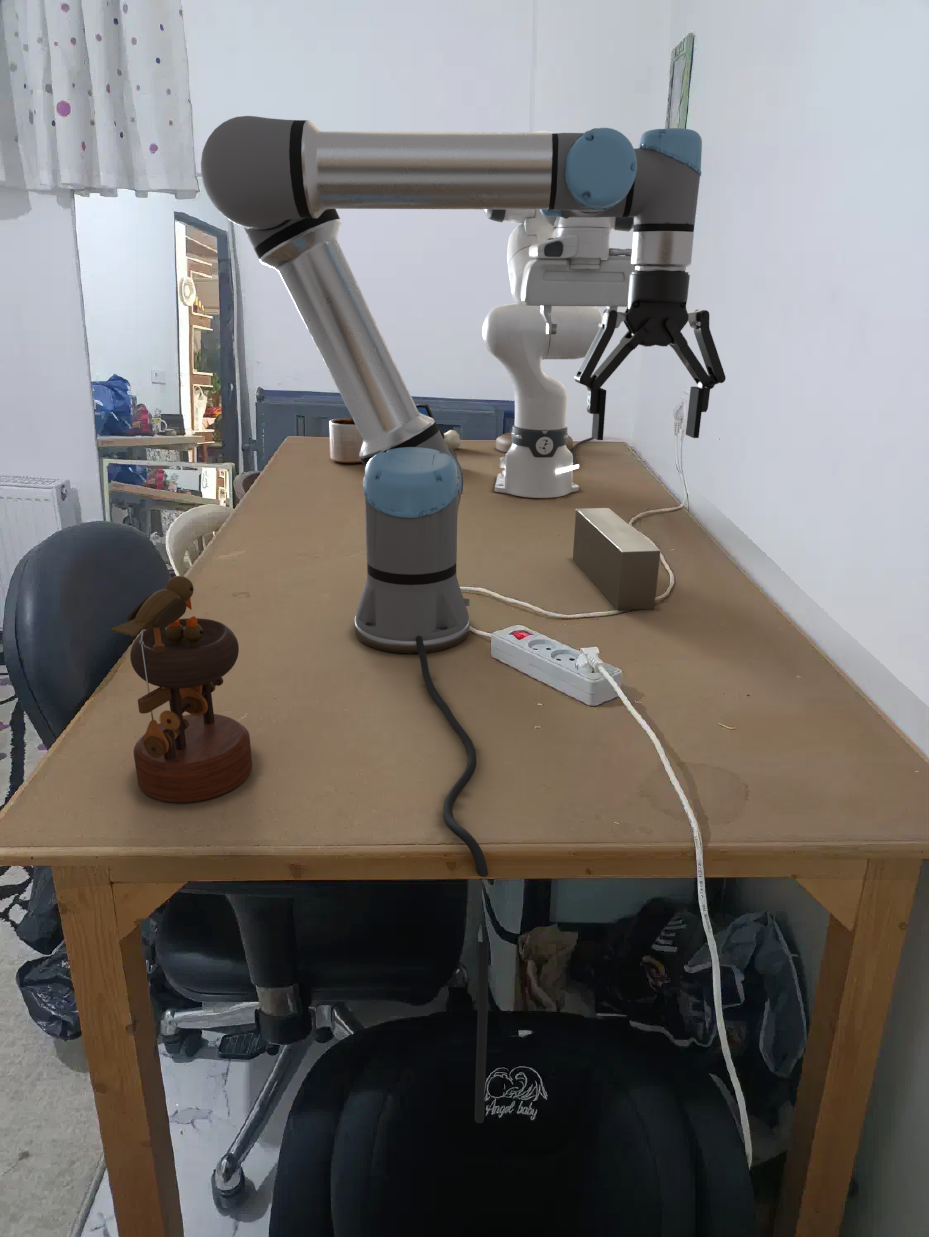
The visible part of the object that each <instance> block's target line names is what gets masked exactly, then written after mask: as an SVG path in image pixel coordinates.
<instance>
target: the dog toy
mask: <svg viewBox="0 0 929 1237" xmlns="http://www.w3.org/2000/svg"><path fill="white" fill-rule="evenodd" d="M443 433H444V437H445V438H444V441H445V443H446V445H447V446H448V448H449V449H450V450H454V449H457V448H460V446H461V443H462V440H461V439H460V437H461V435H460V434H459V433H458V431H456V430H455V429H450V430H448V431H447V432H443Z"/></svg>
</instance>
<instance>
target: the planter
mask: <svg viewBox="0 0 929 1237" xmlns="http://www.w3.org/2000/svg"><path fill="white" fill-rule="evenodd" d="M328 424H329V425H328V426H329V453H330V454H329V455H330V456H329V457H330V459H331V460H332V461H333V462H335V463H341V464H363V462H362V461H361V459H360V456H359V454H360V451H361V448H362V445H363V438H362V436H361V434H360V432H359V430H358V428H357V426H356V424H355V422H354V420H353V418H352V417H342V418H341V417H340V418H335V419H334V418H333V419H331V420H329V421H328Z"/></svg>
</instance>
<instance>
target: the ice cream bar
mask: <svg viewBox="0 0 929 1237" xmlns="http://www.w3.org/2000/svg"><path fill="white" fill-rule="evenodd" d="M511 433H512V431H510V432H506V433H502V434H500V435H498V437H496V440H495V449H497V450H498V451H501V452H503V453H508V450H509V449H510V447H511V445H512V441H511V438H512V435H511ZM566 447H567V449H568V450H569V451H570V452H571V453H572V449H573V447H574V440H573V438H572V437H571V436H570V435H568V437H567V444H566Z"/></svg>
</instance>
